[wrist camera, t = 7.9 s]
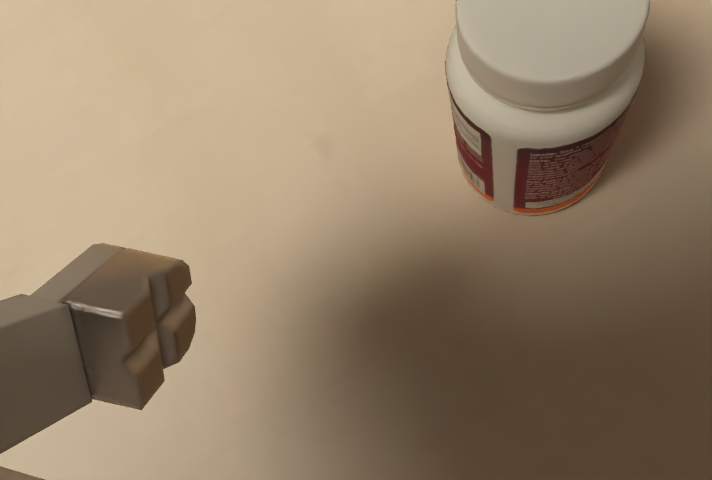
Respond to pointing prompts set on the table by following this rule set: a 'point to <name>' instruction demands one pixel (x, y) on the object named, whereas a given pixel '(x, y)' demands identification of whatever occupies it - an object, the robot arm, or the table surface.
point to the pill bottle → (541, 95)
